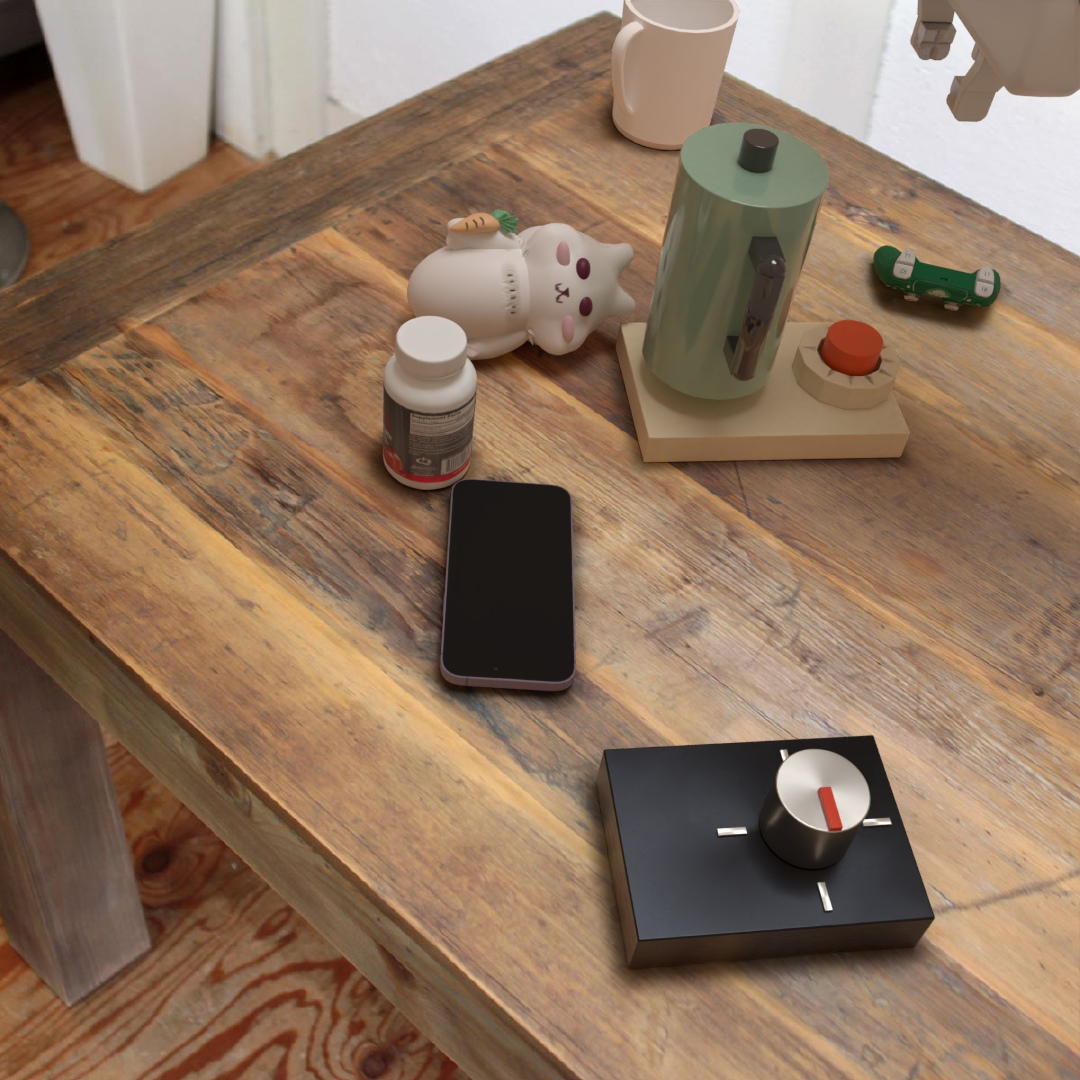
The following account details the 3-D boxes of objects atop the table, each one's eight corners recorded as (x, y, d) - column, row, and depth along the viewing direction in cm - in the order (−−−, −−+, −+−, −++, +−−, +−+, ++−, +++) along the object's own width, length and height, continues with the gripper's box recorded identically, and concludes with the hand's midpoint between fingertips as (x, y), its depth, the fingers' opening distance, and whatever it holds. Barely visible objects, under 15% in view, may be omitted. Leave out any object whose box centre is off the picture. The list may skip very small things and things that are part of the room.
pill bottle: (375, 435, 83) (376, 310, 75) (460, 426, 84) (469, 303, 77) (390, 497, 79) (393, 373, 72) (478, 487, 81) (490, 364, 73)
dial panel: (857, 765, 70) (874, 732, 68) (916, 946, 63) (937, 916, 61) (595, 780, 68) (603, 746, 65) (628, 969, 61) (638, 939, 59)
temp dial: (750, 789, 65) (767, 746, 62) (836, 785, 65) (858, 742, 63) (770, 872, 62) (790, 831, 59) (861, 866, 62) (884, 826, 60)
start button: (866, 340, 88) (874, 319, 87) (882, 376, 86) (890, 355, 84) (814, 340, 87) (821, 319, 86) (829, 377, 85) (836, 356, 84)
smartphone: (572, 485, 80) (577, 684, 70) (570, 498, 81) (575, 697, 71) (451, 476, 80) (438, 676, 70) (450, 490, 81) (437, 689, 70)
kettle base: (856, 345, 93) (873, 300, 90) (904, 457, 86) (923, 412, 83) (615, 347, 91) (623, 300, 88) (643, 462, 83) (653, 416, 80)
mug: (662, 84, 114) (683, -34, 107) (735, 134, 110) (763, 15, 102) (565, 120, 109) (580, -2, 101) (638, 173, 105) (659, 50, 97)
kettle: (748, 291, 90) (804, 77, 78) (798, 432, 81) (871, 214, 69) (625, 291, 88) (665, 73, 77) (663, 434, 79) (714, 213, 68)
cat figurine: (397, 220, 82) (639, 201, 83) (400, 211, 90) (622, 194, 90) (412, 373, 85) (646, 354, 86) (414, 352, 92) (629, 335, 93)
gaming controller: (862, 295, 100) (874, 284, 94) (874, 245, 100) (887, 231, 94) (984, 323, 99) (1004, 314, 93) (997, 273, 99) (1018, 260, 93)
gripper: (1204, -89, 55) (1072, 196, 66) (1027, -265, 69) (940, -5, 79) (1063, -96, 54) (952, 194, 65) (911, -273, 68) (839, -9, 78)
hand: (944, 83), depth 72 cm, fingers open, 5 cm apart
